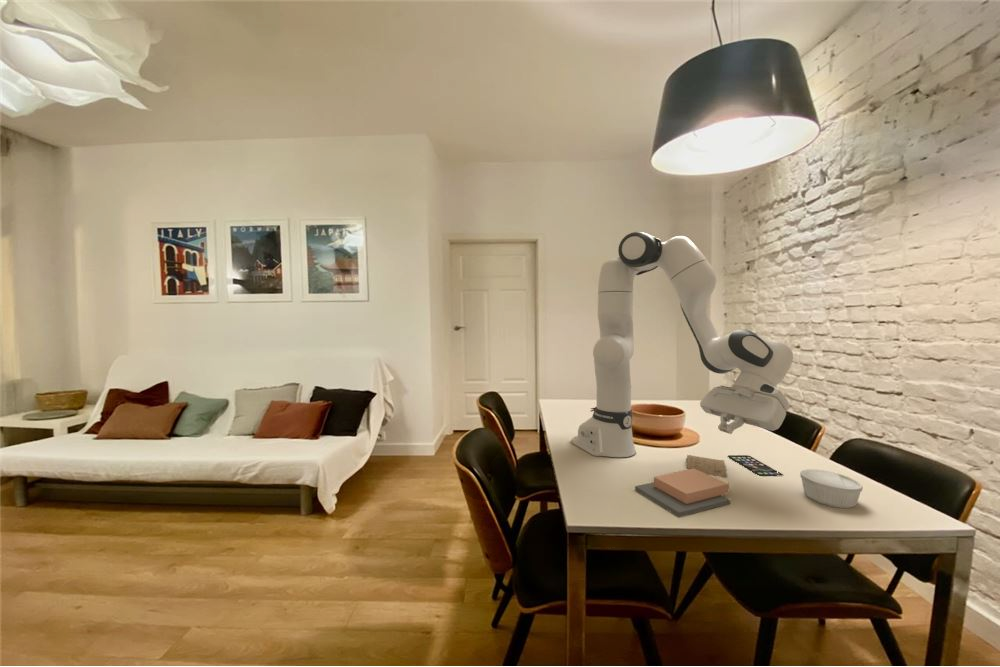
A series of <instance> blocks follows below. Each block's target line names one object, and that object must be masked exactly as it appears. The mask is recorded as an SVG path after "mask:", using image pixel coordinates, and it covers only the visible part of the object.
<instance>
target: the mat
mask: <svg viewBox="0 0 1000 667" xmlns="http://www.w3.org/2000/svg"><path fill="white" fill-rule="evenodd" d="M634 490H635V491H637V492H638V493H639V492H640V493H639V494H641V493H642V494H641V495H643V496H644V495H645V496H644V497H646V498H647V499H649V498H650V500H651V501H652V500H653V501H652V502H654V503H656V504H657V503H658V504H657V505H658V506H661V507H662V506H663V507H662V508H664V509H666V510H668V511H669V512H670V511H671V512H670V513H672V514H674V515H675V516H677V517H679V518H680V517H684V516H688V515H692V514H696V513H699V512H704V511H707V510H712V509H715V508H719V507H724V506H726V505H730V504H731V499H729V498H728V497H726V496H724V495H720V496H716V497H712V498H708V499H704V500H700V501H696V502H692V503H688V504H685V503H684V502H682V501H680V500H678V499H676V498H675V497H673V496H671V495H669V494H667V493H666V492H664V491H662V490H660V489H658V488H656V487H655V486H654V481H652V482H649V483H644V484H638V485H635V486H634Z"/></svg>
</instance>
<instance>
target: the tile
mask: <svg viewBox="0 0 1000 667" xmlns="http://www.w3.org/2000/svg"><path fill="white" fill-rule="evenodd" d="M653 482H654V486H655V487H656V488H658V489H660V490H662V491H664V492H666V493H667V494H669V495H671V496H673V497H675V498H676V499H678V500H680V501H682V502H684V503H685V504H688V503H692V502H696V501H700V500H704V499H708V498H712V497H716V496H720V495H721V496H724V495H727V494H729V492H730V485H729V483H728V482H726V481H723V480H721V479H720V478H719V479H718V478H717V477H715V476H712V475H708V474H705V473H703V472H701V471H698V470H696V469H689V470H688V469H685V470H681V471H680V470H679V471H675V472H671V473H665V474H660V475H657V476H656V475H655V476H653Z"/></svg>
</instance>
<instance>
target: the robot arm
mask: <svg viewBox="0 0 1000 667" xmlns="http://www.w3.org/2000/svg"><path fill="white" fill-rule="evenodd" d="M617 250H618V251H617V252H618V256H619V257H616V258H610V259H607V260H606V261H605V262H603V263H602V266H600V267H601V268H600V272H599V277H598V285H597V286H598V287H597V288H598V290H597V320H598V326H599V338H598V340H597V341H596V343H594V347H593V350H592V351H593V352H592V355H593V363H594V364H593V365H594V366H593V367H594V374H595V381H596V406H595V407H591V408H590V412H593V413H592V417H590V418H587V420H586V421H584V422H582V423H581V424H580V425H579V426H578V430H577V435H576V436H573V437H572V438H571V439H570V443H572V444H574V445H575V446H577V447H578V448H580V449H582V450H583V451H585V452H587V453H588V454H590V455H592V456H595V457H607V458H609V457H610V458H628V457H633V456H634V455H635V454H636V451H637V450H636V448H635V444H634V438H633V429H632V424H633V409H632V383H631V382H632V381H631V368H630V360H631V359H632V357H633V355H634V322H633V320H634V318H633V305H634V304H633V302H634V301H633V300H634V296H633V295H634V279H635V276H640V275H643V274H645V273H648V272H651V271H654V270H655V269H657V268H660V269H662V270H663V271H664V273H665V274H666V277H668V279H669V280H670V283H672V286H673V287H674V290H675V291H676V294H677V297H678V299H679V300H678V301H679V305H680V308H681V311H682V313H683V316H684V318H685V321H686V323H687V325H688V327H689V329H690V331H691V332H692V335H693V337H694V339H695V341H696V343H697V346H698V350H699V356H700V360H701V362H702V364H703V366H704V367H706V369H707V370H709V371H711V372H713V373H715V374H727V373H729V372H732V371H734V370H736V369H738V370H740V373H739V375H738V377H737V378H736V379H735V381H733V384H732V385H731V386H724V385H719V386H715V387H713V388H712V389H711V390H709V392H708V393H707V394H706V395H704V397H703V398H702V399H701V400H700V402H699V405H700V408H701V410H703V411H704V412H705V413H706V414H709V415H713V416H716V417H717V416H718V417H720V423H719V425H718V427H717V428H718V430H719V431H720V432H723V433H727V434H729V435H731V434H733V433H734V431H735V430H737V429H740V428H741V427H743V425H744V424H746V425H749V426H754V427H757V428H761V429H764V430H769V431H771V432H773V431H776V430H778V429H779V428H780V427H781V426H782V424H783V422H784V420H785V418H786V416H787V410H788V409H789V408H790V407H791V405H790V403H789V401H788V399H787V397H786V396H785V394H784V393H783V392H782V391H781V390H780V388H778V387H777V386H778V384H780V383H781V382H782V381H783V380H784V379H785V377H786V376H787V374H788V372H789V370H790V368H791V367H792V364H793V359H794V354H793V351H792V349H791V347H789V346H788V345H787V344H786V343H785V342H782V341H780V340H777V339H768V338H764V337H761V336H759V335H757V333H755V332H753V331H751V330H748V329H743V328H742V329H741V328H740V329H736V330H735V331H731V332H730V333H727V334H725V335H723V336H722V337H721V336H720V335H719V334H718V331H717V330H716V328H715V325H714V323H713V321H712V319H711V317H710V316H709V313H708V303H709V301H710V298H711V295H712V294H713V292H714V290H715V288H716V284H717V276H716V273H715V270H714V269H713V267H712V265H711V263H710V262H709V261H708V259H707V257H706V256H705V255H704V254H703V252H702V251H701V250H700V249H699V248H698V246H697V245H695V243H694V242H693V241H692V240H691V239H689V238H688V237H686V236H684V235H678V236H674V237H671V238H669V239H667V240H666V241H662V239H660V238H658V237H656V236H653V235H652V234H649V233H647V232H643V231H634V232H631V233H628V234H626V235H625V236H624V237H623V238H622V239H621V241H620V243H619V244H618V249H617ZM731 420H732V421H731ZM730 421H731V422H730ZM727 422H728V423H729V422H730V423H729V424H728V423H727Z"/></svg>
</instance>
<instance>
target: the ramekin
mask: <svg viewBox="0 0 1000 667" xmlns="http://www.w3.org/2000/svg"><path fill="white" fill-rule="evenodd" d="M799 476H800V478H801V483H802V488H803V492H804V494H805V495H806V496H807V497H808V498H809V499H811V500H813V501H815V502H818V503H819V504H823V505H826V506H828V507H834V508H838V507H839V509H852V508H854V507H855V506H856V505H857V504H858V501H859V499H860V495H861V493H862V491H863V485H862V484H861V483H860V482H859V481H858V480H856V479H854V478H851V477H849V476H846V475H845V474H841V473H839V472H838V473H837V472H835V471H831V470H830V471H829V470H823V469H815V468H814V469H812V468H811V469H809V468H808V469H803V470H801V471H800V474H799Z"/></svg>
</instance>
